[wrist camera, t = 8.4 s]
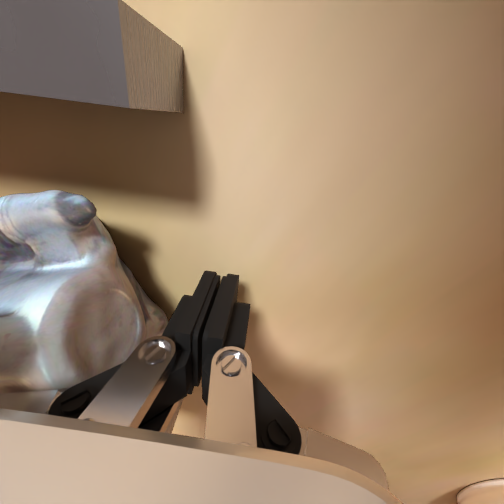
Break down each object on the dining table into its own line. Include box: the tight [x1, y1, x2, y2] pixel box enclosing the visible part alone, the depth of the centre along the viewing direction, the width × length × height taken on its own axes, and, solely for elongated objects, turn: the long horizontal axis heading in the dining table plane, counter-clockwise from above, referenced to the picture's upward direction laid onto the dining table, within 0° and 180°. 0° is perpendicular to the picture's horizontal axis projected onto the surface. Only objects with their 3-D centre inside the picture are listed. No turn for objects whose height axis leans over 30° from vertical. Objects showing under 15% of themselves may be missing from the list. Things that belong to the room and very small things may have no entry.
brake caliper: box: [0, 190, 169, 394], centre depth 10 cm, size 11×11×12 cm
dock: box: [0, 0, 184, 433], centre depth 12 cm, size 19×16×4 cm
